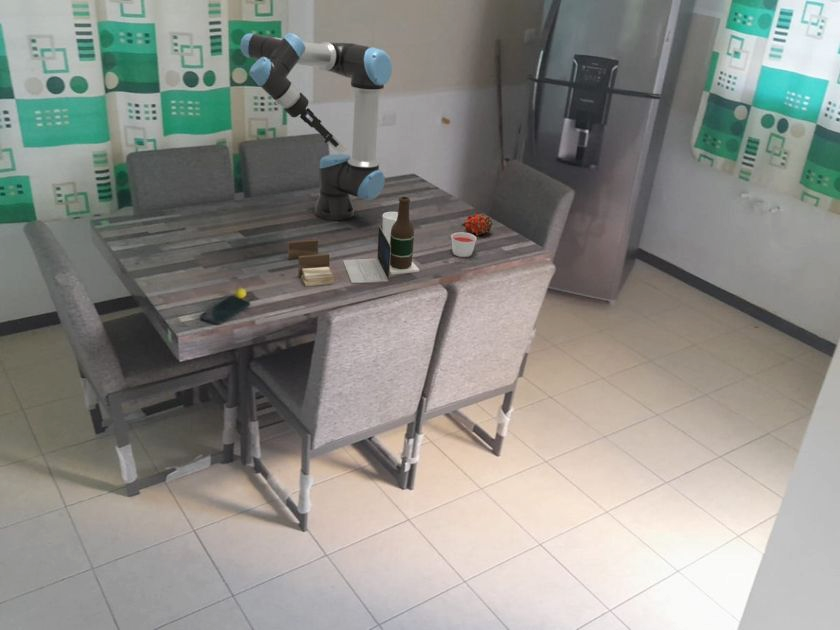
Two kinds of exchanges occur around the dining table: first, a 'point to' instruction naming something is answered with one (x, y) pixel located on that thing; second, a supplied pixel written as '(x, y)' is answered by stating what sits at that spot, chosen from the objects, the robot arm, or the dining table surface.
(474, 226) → the dragon fruit
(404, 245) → the beer bottle
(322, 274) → the bookends with books
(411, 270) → the placing pad
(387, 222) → the white cup
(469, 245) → the cup of red liquid
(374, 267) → the laptop
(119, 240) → the dining table surface
